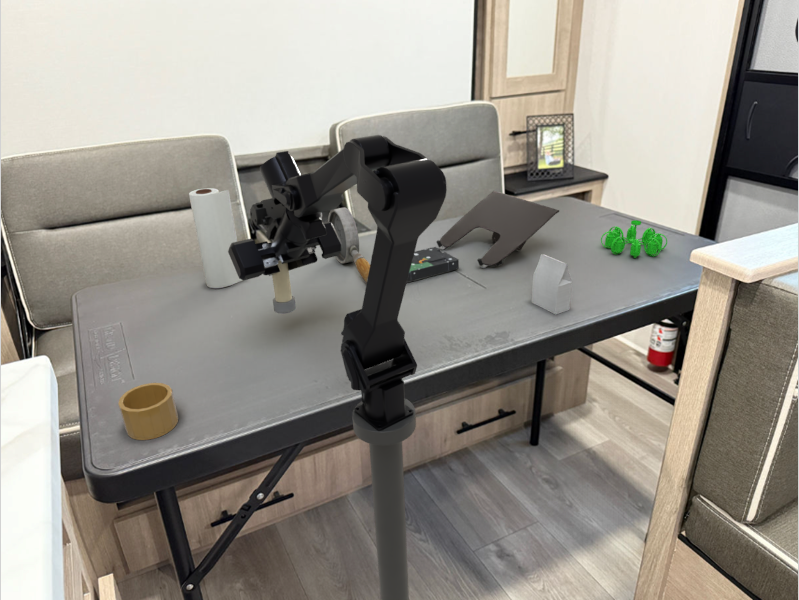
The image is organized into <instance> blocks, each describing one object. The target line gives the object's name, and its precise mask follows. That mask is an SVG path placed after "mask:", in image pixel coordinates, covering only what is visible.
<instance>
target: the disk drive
mask: <svg viewBox="0 0 799 600" xmlns="http://www.w3.org/2000/svg"><path fill="white" fill-rule="evenodd" d="M459 261H460V260H459V259H458V258H457V257H455V256H453V255H451V254H450V253H447V252H446V251H444V252H443V251H442V250H441V249H440V248H439V247H437V246H433V247H429V248H424V249H419V250H415V252H414V256H413V260H412V264H411V268H410V271H409V275H408V279H407V283H411V282H415V281H418V280H423V279H427V278H430V277H433V276H434V277H435V276H438V275H442V274H445V273H450V272H453V271H456V270H458V269H459V266H460V265H459V264H460V262H459Z"/></svg>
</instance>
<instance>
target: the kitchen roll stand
mask: <svg viewBox="0 0 799 600" xmlns="http://www.w3.org/2000/svg"><path fill="white" fill-rule="evenodd" d="M277 265H278V267H279V270H280V272H278V273H276V274H274V275H271V279H272V285H273V292H274V298H273V299H272V305H273V306H272V307H273V311H274V312H275V313H277V314H281V315H282V314H289V313H292V312H294V311H295V310H296V309H297V304H296V298H295V296H294V295H293V293H292V286H291V278H290V271H289V270H288V263H284V264H282V263H281V261H279V263H278V264H277Z"/></svg>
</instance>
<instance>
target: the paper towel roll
mask: <svg viewBox="0 0 799 600" xmlns="http://www.w3.org/2000/svg"><path fill="white" fill-rule="evenodd" d="M188 196H189V201H190V207H191V212H192V218H193V222H194V227H195V228H194V229H195V233H196V238H197V243H198V244H197V245H198V249H199V255H200V259H201V265H202V270H203V275H204V276H203V277H204V280H205V285H206V286H207V288H210V289H222V288H226V287H230V286H233V285H235V284H237V283H240V282H243V281H244V280H241V279H239V277H238V274H237V272H236V270H235V267H234V265H233V262H232V260H231V258H230V255H229V253H228V250H229V247H230V245H231V243H233V242H238V237H237V231H236V225H235V219H234V213H233V207H232V202H231V201H232V200H231V195H230V189H225V190H222V191H220V190H219V189H218V188H213V187H208V188H207V187H206V188H198V189H195V190H191V191H190V192H189V193H188Z"/></svg>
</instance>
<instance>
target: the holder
mask: <svg viewBox="0 0 799 600" xmlns="http://www.w3.org/2000/svg"><path fill="white" fill-rule="evenodd" d="M117 406H118V408H119V412H120V415H121V419H122V423H123V426H124V429H125V432H126V435H127V436H128V437H129V438H131V439H132V440H137V441H148V440H154V439H157V438H160V437H162V436H165V435H166V434H169V433H170V432H171V431H173V429H175V427H176V426H177V425H178V423H179V414H178V409H177V405H176V400H175V397H174V392H173V389H172V388H171V386H170V385H169V384H166V383H163V382H149V383H142V384H140V385H138V386H135V387H132V388H130V389H128V390H127V391H126V392H124V393H123V394H122V395H121V396H120V397H119V399H118V403H117Z"/></svg>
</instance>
